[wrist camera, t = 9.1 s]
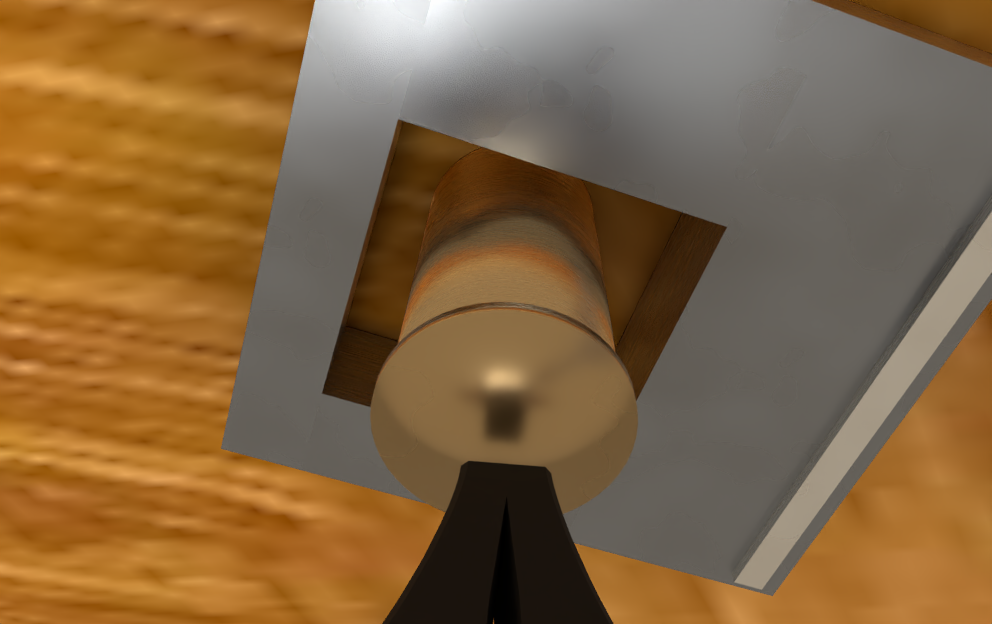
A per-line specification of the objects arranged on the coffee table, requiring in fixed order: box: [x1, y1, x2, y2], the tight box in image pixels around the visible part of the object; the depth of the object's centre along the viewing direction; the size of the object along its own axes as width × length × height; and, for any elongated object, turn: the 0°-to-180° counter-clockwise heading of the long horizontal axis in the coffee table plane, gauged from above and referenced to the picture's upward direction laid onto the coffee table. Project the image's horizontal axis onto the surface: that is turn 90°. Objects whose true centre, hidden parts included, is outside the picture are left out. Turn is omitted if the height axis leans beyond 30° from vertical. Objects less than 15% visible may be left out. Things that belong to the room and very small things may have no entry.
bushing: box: [370, 147, 638, 514], centre depth 17 cm, size 4×4×8 cm
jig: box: [221, 0, 992, 596], centre depth 20 cm, size 15×14×3 cm
